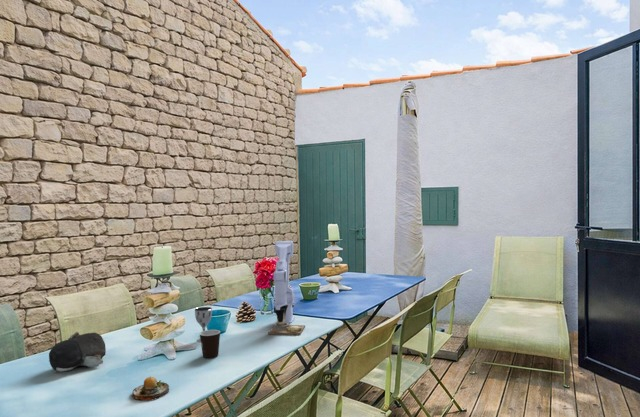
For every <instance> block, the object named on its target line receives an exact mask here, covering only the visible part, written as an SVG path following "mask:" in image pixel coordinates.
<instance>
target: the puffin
mask: <svg viewBox="0 0 640 417" xmlns="http://www.w3.org/2000/svg"><path fill="white" fill-rule="evenodd" d="M106 349H107V348H106V343H105V341H104V338H103V336H102V335H101V334H99V333H97V332H90V333H89V332H88V333H82V334H80V332H78V331H75V332H74V333H73V334H72V335H70V337H69V338H68V339H65V340H61V341H60V342H58V343H57V344H55V345H53V346H52V348H51V349H50V350H49V353H48V359H49V360H48V362H49V365H50V366H51V368H52V369H53V370H54V371H55V372H68V371H72V370H73V369H74V368H76V367H82V366H83V367H88V368H92V367H93V368H94V367H99V365H101V364H103V362H104V361H103V358H104V356H106V355H107V354H106Z"/></svg>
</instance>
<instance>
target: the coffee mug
mask: <svg viewBox="0 0 640 417" xmlns="http://www.w3.org/2000/svg"><path fill="white" fill-rule="evenodd" d="M199 339H200V340H201V342H200V345H201V353H202V358H204V359H205V360H206V359H208V360H209V359H215V358H217V357H218V356H219V352H220V340H221V330H218V329H207V330H206V329H205V331H203V330H202V331H201V332H199Z"/></svg>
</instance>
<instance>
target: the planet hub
mask: <svg viewBox="0 0 640 417" xmlns="http://www.w3.org/2000/svg"><path fill="white" fill-rule="evenodd" d="M276 323H277V325H278V326H283V325H285V314H284V316H283V322H278V319H277V318H276Z"/></svg>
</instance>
